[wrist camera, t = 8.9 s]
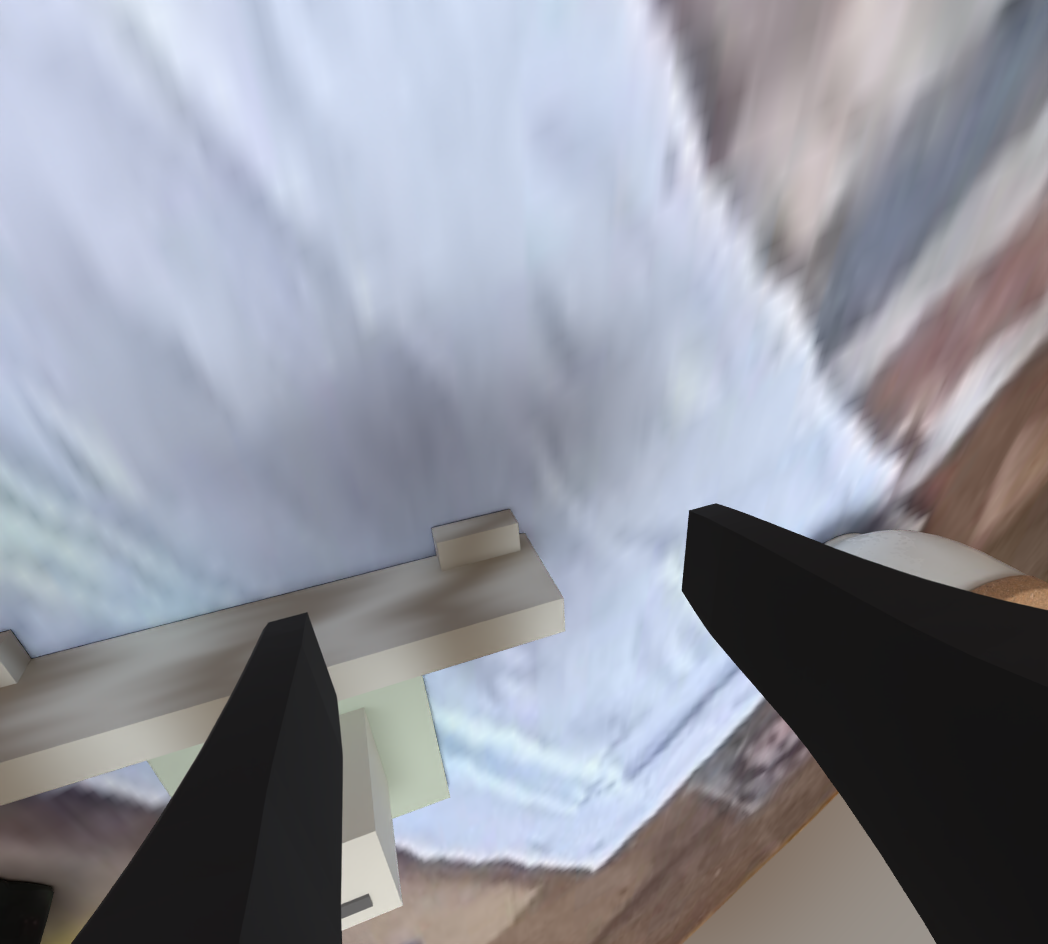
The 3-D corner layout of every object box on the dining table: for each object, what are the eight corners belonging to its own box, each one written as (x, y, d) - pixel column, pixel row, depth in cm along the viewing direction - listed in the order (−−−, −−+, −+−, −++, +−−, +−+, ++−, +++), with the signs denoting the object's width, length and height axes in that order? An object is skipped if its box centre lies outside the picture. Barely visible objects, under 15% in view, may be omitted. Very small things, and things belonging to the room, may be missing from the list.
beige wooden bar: (522, 505, 21) (562, 568, 17) (529, 586, 23) (566, 656, 19) (-133, 664, 16) (-253, 794, 12) (-52, 750, 18) (-137, 882, 14)
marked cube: (363, 707, 22) (375, 834, 18) (387, 781, 24) (402, 908, 20) (229, 749, 21) (207, 897, 16) (268, 823, 23) (258, 968, 19)
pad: (413, 638, 22) (415, 649, 21) (447, 785, 27) (450, 797, 26) (134, 719, 19) (129, 734, 19) (227, 865, 24) (225, 880, 24)
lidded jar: (713, 599, 27) (876, 769, 19) (883, 453, 26) (1125, 568, 18) (785, 682, 33) (933, 839, 25) (926, 565, 32) (1124, 689, 24)
